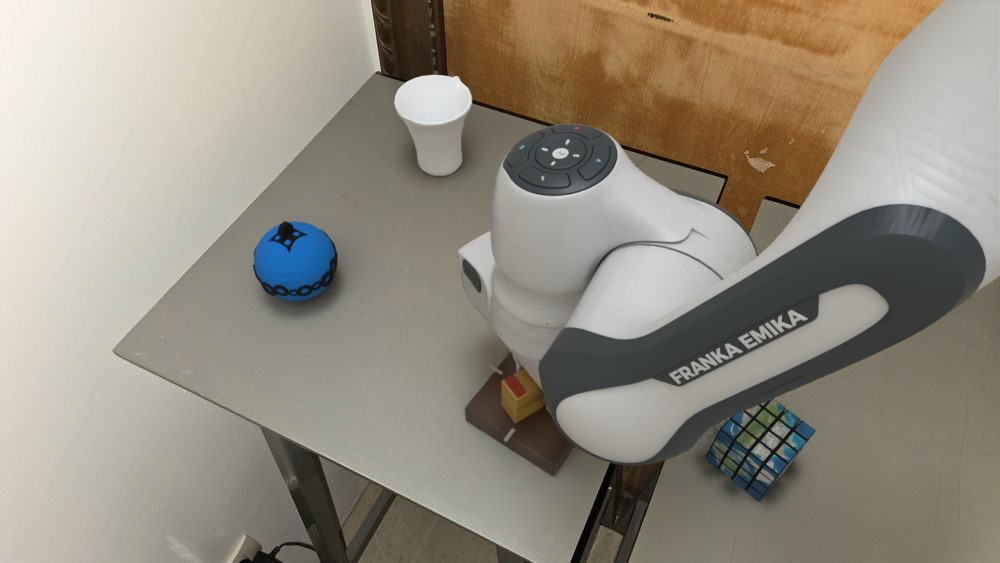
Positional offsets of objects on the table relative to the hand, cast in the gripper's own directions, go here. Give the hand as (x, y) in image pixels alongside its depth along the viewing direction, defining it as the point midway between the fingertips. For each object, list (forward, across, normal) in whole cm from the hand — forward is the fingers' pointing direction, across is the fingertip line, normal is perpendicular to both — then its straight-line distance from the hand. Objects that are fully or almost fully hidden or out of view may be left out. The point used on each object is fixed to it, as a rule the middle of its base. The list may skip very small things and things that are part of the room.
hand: (539, 388), depth 70 cm
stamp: (+1, 0, 0) cm, 1 cm away
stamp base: (+4, 0, 0) cm, 4 cm away
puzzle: (+4, -15, -13) cm, 21 cm away
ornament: (+4, +26, +12) cm, 29 cm away
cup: (+4, +35, -10) cm, 37 cm away
